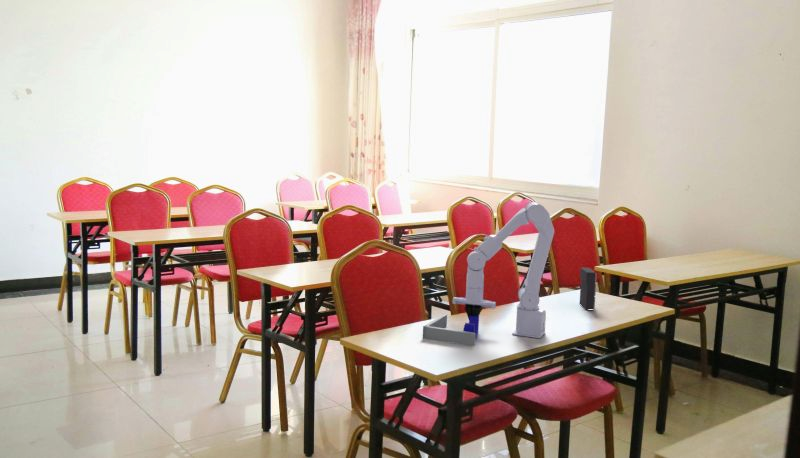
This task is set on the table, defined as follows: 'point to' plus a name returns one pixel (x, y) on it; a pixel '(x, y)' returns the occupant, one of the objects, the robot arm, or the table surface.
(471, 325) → the cable clip
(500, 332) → the table surface
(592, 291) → the dark grey rectangular block
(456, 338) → the corner bracket
